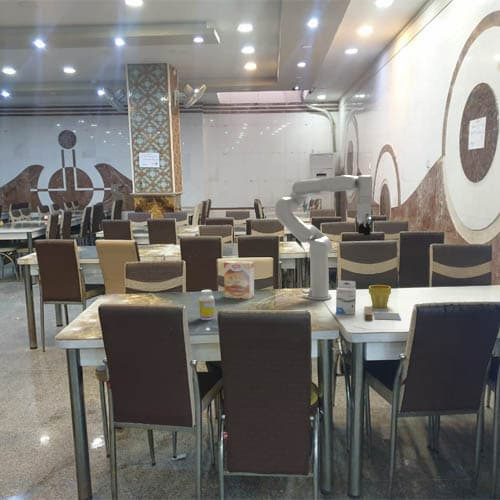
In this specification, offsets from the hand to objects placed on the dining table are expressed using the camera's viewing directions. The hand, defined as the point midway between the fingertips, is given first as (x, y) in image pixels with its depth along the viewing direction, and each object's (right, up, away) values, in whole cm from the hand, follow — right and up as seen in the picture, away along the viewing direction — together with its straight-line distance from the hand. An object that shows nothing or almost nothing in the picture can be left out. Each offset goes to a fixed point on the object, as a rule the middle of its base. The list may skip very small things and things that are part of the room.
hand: (364, 234), depth 230 cm
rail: (-4, -38, -25) cm, 45 cm away
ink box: (-13, -37, -19) cm, 44 cm away
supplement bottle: (-77, -39, -24) cm, 90 cm away
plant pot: (+5, -36, -8) cm, 37 cm away
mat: (+3, -38, -27) cm, 46 cm away
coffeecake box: (-63, -34, +18) cm, 74 cm away
